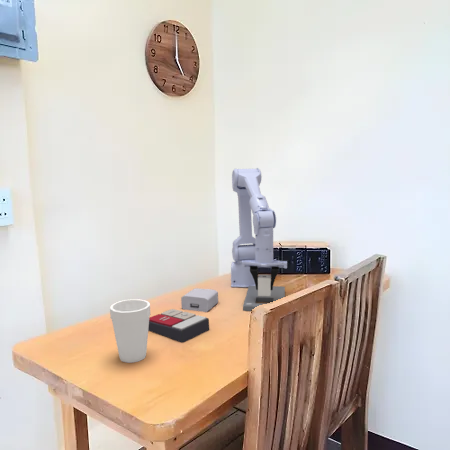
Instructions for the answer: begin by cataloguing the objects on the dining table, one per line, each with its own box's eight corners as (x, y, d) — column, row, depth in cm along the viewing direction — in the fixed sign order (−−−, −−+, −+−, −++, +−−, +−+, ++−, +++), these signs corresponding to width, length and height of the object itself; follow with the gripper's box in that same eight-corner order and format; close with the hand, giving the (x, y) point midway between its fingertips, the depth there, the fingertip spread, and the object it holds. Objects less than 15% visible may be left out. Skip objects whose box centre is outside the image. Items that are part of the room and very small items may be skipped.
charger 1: (224, 298, 145) (208, 312, 131) (200, 295, 148) (181, 309, 134) (224, 285, 144) (207, 298, 130) (200, 282, 147) (181, 295, 133)
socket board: (242, 310, 132) (242, 305, 131) (249, 289, 153) (249, 284, 153) (284, 312, 130) (284, 306, 130) (284, 290, 151) (284, 285, 151)
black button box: (172, 307, 126) (209, 315, 117) (173, 320, 127) (210, 330, 117) (143, 318, 118) (181, 328, 109) (145, 332, 119) (182, 343, 109)
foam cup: (155, 347, 106) (153, 298, 104) (149, 365, 97) (146, 312, 95) (118, 348, 106) (115, 299, 104) (108, 366, 97) (104, 312, 95)
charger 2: (258, 295, 135) (257, 277, 134) (258, 292, 138) (258, 274, 138) (270, 296, 134) (270, 277, 133) (270, 292, 138) (270, 274, 137)
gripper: (240, 250, 131) (241, 292, 133) (287, 251, 129) (286, 293, 131) (242, 245, 138) (243, 285, 140) (287, 246, 136) (286, 286, 138)
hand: (264, 288), depth 136 cm, fingers closed on charger 2, 4 cm apart
